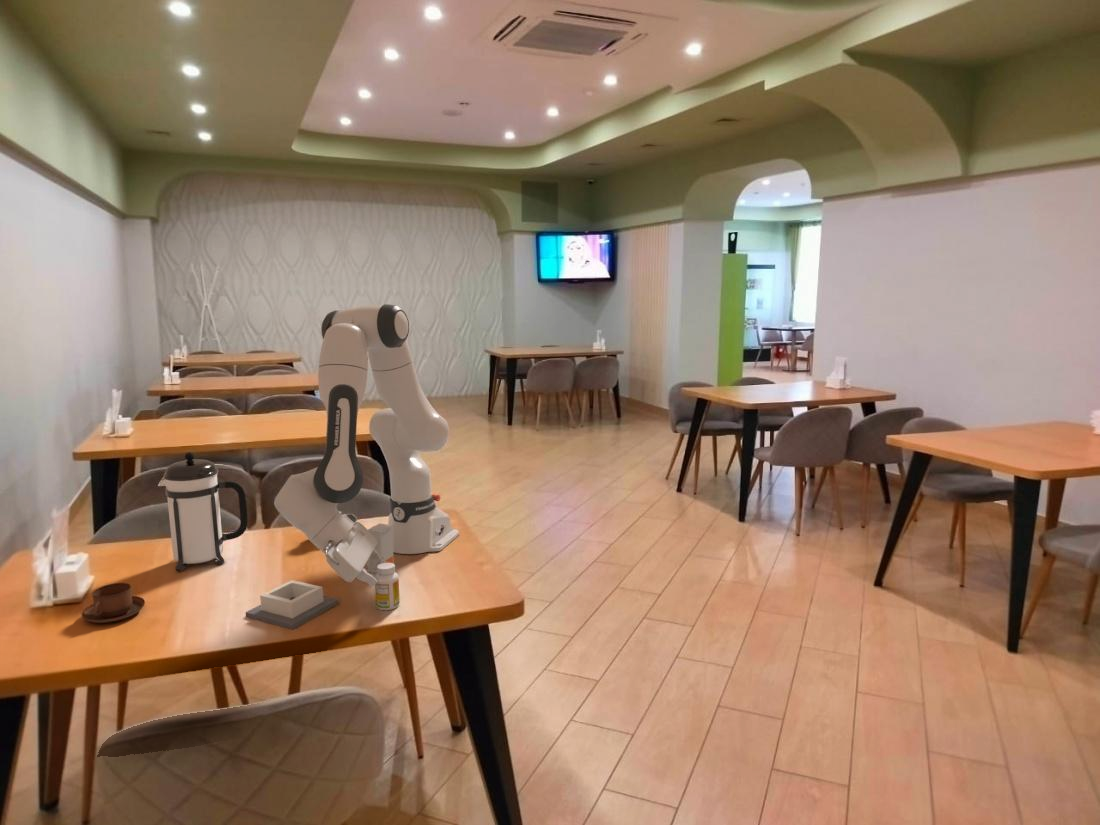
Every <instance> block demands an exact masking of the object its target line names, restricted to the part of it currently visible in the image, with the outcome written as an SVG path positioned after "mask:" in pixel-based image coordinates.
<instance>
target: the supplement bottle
mask: <svg viewBox="0 0 1100 825" xmlns="http://www.w3.org/2000/svg"><path fill="white" fill-rule="evenodd" d="M377 573H378V574H377V575H376V577H377V578H378V582H377V584H376V585H375V586H374V597H375V607H376V609H377V610H380V611H391V610H393V609H394V610H395V609H396V608H398V607H399V606H400V604H401V603H400V602H401V601H400V582H399V581H400V579H399V575H398V573H397V572H396V565H395V563H394V564H393V563H382V564H379V565H378V566H377Z"/></svg>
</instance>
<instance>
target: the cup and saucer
mask: <svg viewBox="0 0 1100 825" xmlns="http://www.w3.org/2000/svg"><path fill="white" fill-rule="evenodd" d="M92 600H93V603H92V604H91V605H89V606H87V607H85V609H84V610H83V611H82V613H81V616H82V618H83V619H84V620H85V621H87V622H89V623H94V624H106V623H113V622H119V621H122V620H125V619H127V618H130V617H132V616H134V615H136V614H138V613H139V612H140V611H141V610H142V609H143V608H144V607H145V605H146V604H145V603H146V601H145V599H144V598H142V597H141V596H134V595H133V594H132V585H131V584H130V583H127V582H117V583H110V584H106V585H103V586H100V587H98V588H96V589H94V590H93V591H92Z"/></svg>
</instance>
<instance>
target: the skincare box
mask: <svg viewBox="0 0 1100 825" xmlns="http://www.w3.org/2000/svg"><path fill="white" fill-rule="evenodd" d="M367 530H368V531H369V532H370V533H371V534H372V535H373V536H374V537H375V538H376V540H377V545H376V546H375V548H374V549H375V550H376V551H378V553H379V555H380V556H381V558H382V559H383V560H384V561H385V562H386V563H393V564H395V563H394V552H393V528H392V525H388V523H387V524H384V523H378V524H376V525H374V526H371V527H370V528H368V529H367ZM366 567H367V569H366V570H367V571H366V572H367V573H369V574H371V575H375V576H376V575H377V574H378V573H377V567H376V564H375V563H374V562H373V561H372V559H368V560H367V562H366Z"/></svg>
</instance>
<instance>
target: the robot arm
mask: <svg viewBox="0 0 1100 825" xmlns="http://www.w3.org/2000/svg"><path fill="white" fill-rule="evenodd" d="M320 329H321V336H322V340H323V341H322V344H321V348H320V353H319V360H318V368H317V370H318V374H317V381H318V393H319V397H320V398H319V399H321V401H322V403H323V405H324V407H325V411H326V412H325V413H326V419H327V420H326V437H325V438H326V439H325V450H324V454H323V457H322V459H321V461H320V463H319V464H318V466H317V467H314V468H312V469H309V470H307V471H305V472H301V473H297V474H290V475H288V476H287V477H286V478H285V480H284V481H283V482H282V484H281V485H280V486H279V487H278V489H277V491H276V492H275V494H274V496H273V504H274V508H275V509H276V510H277V512H278V513H279V514H280V515H281V516H282V517H283V518H284V519H285V520H286V521H287V523H289V524H290V525H291V526H293V528H295V529H297V530H299V531H301V533H303V534H304V535H305V536H306V538H307V540H308V541H310V543H312V544H313V545H315V547H316V548H317V549H318V550H320V551H321V552H322V553H323V554H324V555H325V558H326V562H327V564H328V565H329V566H330V568H331V569H332V570H333V571H334V572H335V573H336V574H337V575H338V576H339V577H340V578H341V579H342V580H343V581H345V582H347V583H352V582H353V581H354V580H356V579H358V581H361V582H364V583H366V584H367V585H369V587H372V588H373V587H374V588H375V585H376V584H377V582H378V578H377V577H376V576H375V575H371V574H369V573H368V572H367V569H365V568H364V567H365V565H367V560H368V559H372V561H373V562H374V563H375V564H376V567H377V566H378V565H379V564H382V563H386V562H385V561H384V560H383V559H382V558H381V556H380V555H379V553H378V551H376V550H375V549H374V548H375V546H376V545H377V540H376V538H375V537H374V536H373V535H372V534H371V533H370V532H369V531H368V529H367V528H366V527H365V525H363V524H362V523H360V521H358V517H357V516H356V515H355V514H353V513H347V514H345V513H342V512H341V511H340V512H341V513H340V512H339V510H338V505H339V504H343V503H347V502H350V501H351V500H353V499H354V498H355V497H357V495H358V494H360V491H361V489H362V487H363V483H364V474H363V470H362V468H361V465H360V462H359V460H358V457H357V451H356V450H357V448H356V446H357V423H358V422H357V421H358V414H359V410H360V407H361V405H362V403H363V399H364V396H365V392H366V386H367V380H368V371H369V370H368V366H369V363H370V369H371V372H372V376H373V379H374V383H375V387H376V391H377V394H378V396H379V398H380V399H381V400H382V401H383V402H384V403H385V404H386V405H387V406H388V407H389V408H388V407H387V408H382V409H379V410H377V411H375V412H374V413H373V414H372V416H371V418H370V421H369V426H368V428H369V434H370V436H371V438H372V439H373V440H374V441H375V442H376V443H377V445H378V446H379V447H380V450H381V452H382V455H383V456H384V459H385V461H386V464H387V469H388V472H389V483H390V484H389V485H390V498H389V505H388V506H389V512H390V514H389V515H388V523H387V525H392V528H393V553H395V554H402V555H416V554H417V555H418V554H423V553H427V552H428V553H430V552H432V553H433V552H434V553H435V552H440V551H442V550H443V549H445V548H446V547H447V546H448V545H449V544H450V543H451V542H452V541H453V540H455V539H456V538H457V537H458V536H459V535H460V531H459V529H456V528H453V527H452V525H451V519H450V516H449V514H447V513H446V512H444V511H443V510H441V509H440V508H438V507H437V505H436V503H435V502H440V501H441V499H442V498H441V494H439V493H437V494H436V493H432V479H431V478H432V477H431V476H432V475H431V469H430V467H429V466H428V464H427V463H426V462H425V461H424V459H423V458H422V456H421V455H420V453H431V452H438V451H441V450H442V449H443V448H444V447H445V446H446V445H447V443H448V441H449V438H450V426H449V423H448V421H447V420H446V418H444V417H443V416H442V415H440V414H439V413H438V412H437V411H436V409H434V407H433V406H432V405H431V403H430V401H429V400H428V398H427V397H426V394H425V392H424V391H423V389H422V387H421V385H420V382H419V378H418V375H417V370H416V367H415V363H414V359H413V358H414V357H413V355H412V352H411V348H410V346H409V342H408V340H407V339H408V337H409V335H410V334H409V333H410V321H409V318H408V315H407V314H406V312H405V311H404V310H403V309H402V308H401V307H400V306H398V305H395V304H388V303H386V304H383V305H382V304H380V305H379V304H378V305H377V304H376V305H375V304H372V305H371V304H369V305H365V304H364V305H361V306H355V307H350V308H346V309H335V310H333V311H331V312H328V313H327V314H326V315H325V317H324V319H323V320H322V323H321V327H320ZM368 359H369V362H368ZM336 506H337V508H336Z"/></svg>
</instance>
